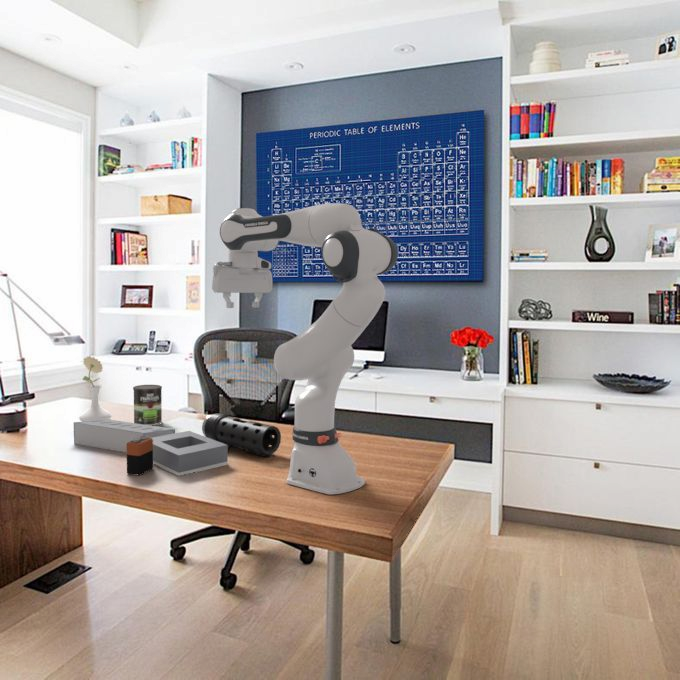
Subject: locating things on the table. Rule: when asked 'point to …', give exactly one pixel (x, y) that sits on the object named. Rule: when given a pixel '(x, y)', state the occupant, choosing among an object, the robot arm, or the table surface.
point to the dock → (188, 452)
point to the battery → (139, 455)
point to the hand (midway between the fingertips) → (243, 307)
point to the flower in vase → (94, 393)
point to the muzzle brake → (242, 434)
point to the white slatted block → (114, 433)
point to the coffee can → (147, 404)
